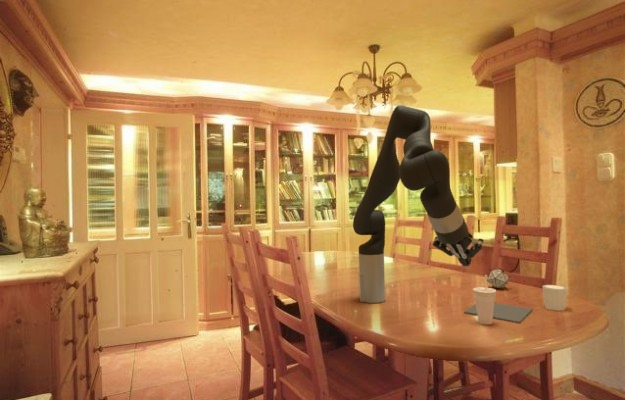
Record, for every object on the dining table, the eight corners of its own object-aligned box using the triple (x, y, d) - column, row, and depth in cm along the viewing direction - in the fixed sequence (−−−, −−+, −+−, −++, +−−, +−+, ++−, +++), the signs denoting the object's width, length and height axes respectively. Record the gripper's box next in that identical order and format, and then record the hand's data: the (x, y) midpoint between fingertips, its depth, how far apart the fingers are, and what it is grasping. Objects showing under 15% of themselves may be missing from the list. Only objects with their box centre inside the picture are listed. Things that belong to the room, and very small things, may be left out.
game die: (503, 298, 146) (516, 281, 141) (482, 290, 148) (493, 273, 142) (502, 283, 154) (513, 266, 148) (481, 275, 155) (492, 259, 149)
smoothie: (496, 327, 104) (494, 278, 104) (471, 323, 108) (470, 276, 108) (498, 320, 110) (497, 274, 110) (475, 317, 113) (474, 272, 113)
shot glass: (560, 312, 116) (559, 290, 116) (538, 307, 122) (537, 286, 122) (572, 309, 119) (571, 287, 119) (550, 304, 125) (549, 283, 125)
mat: (519, 323, 107) (519, 321, 107) (464, 313, 118) (464, 311, 118) (532, 310, 119) (532, 308, 119) (480, 301, 130) (480, 300, 130)
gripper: (478, 209, 87) (495, 254, 96) (425, 209, 96) (446, 250, 105) (471, 233, 83) (490, 278, 92) (417, 231, 92) (438, 272, 101)
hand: (466, 263), depth 99 cm, fingers closed
